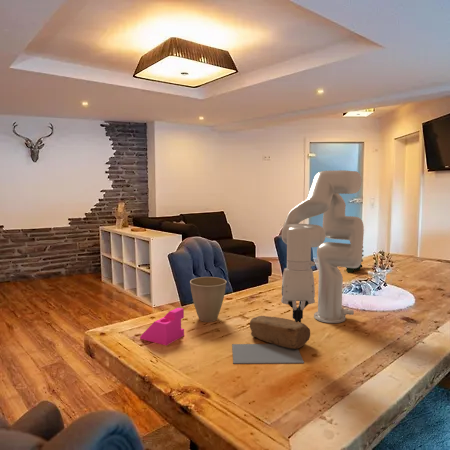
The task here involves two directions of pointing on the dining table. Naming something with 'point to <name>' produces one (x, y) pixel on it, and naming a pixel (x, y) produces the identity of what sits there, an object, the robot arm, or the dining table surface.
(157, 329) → the bracket
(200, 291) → the plant pot
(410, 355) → the dining table surface
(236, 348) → the mat
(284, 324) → the block
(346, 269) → the toy figurine
